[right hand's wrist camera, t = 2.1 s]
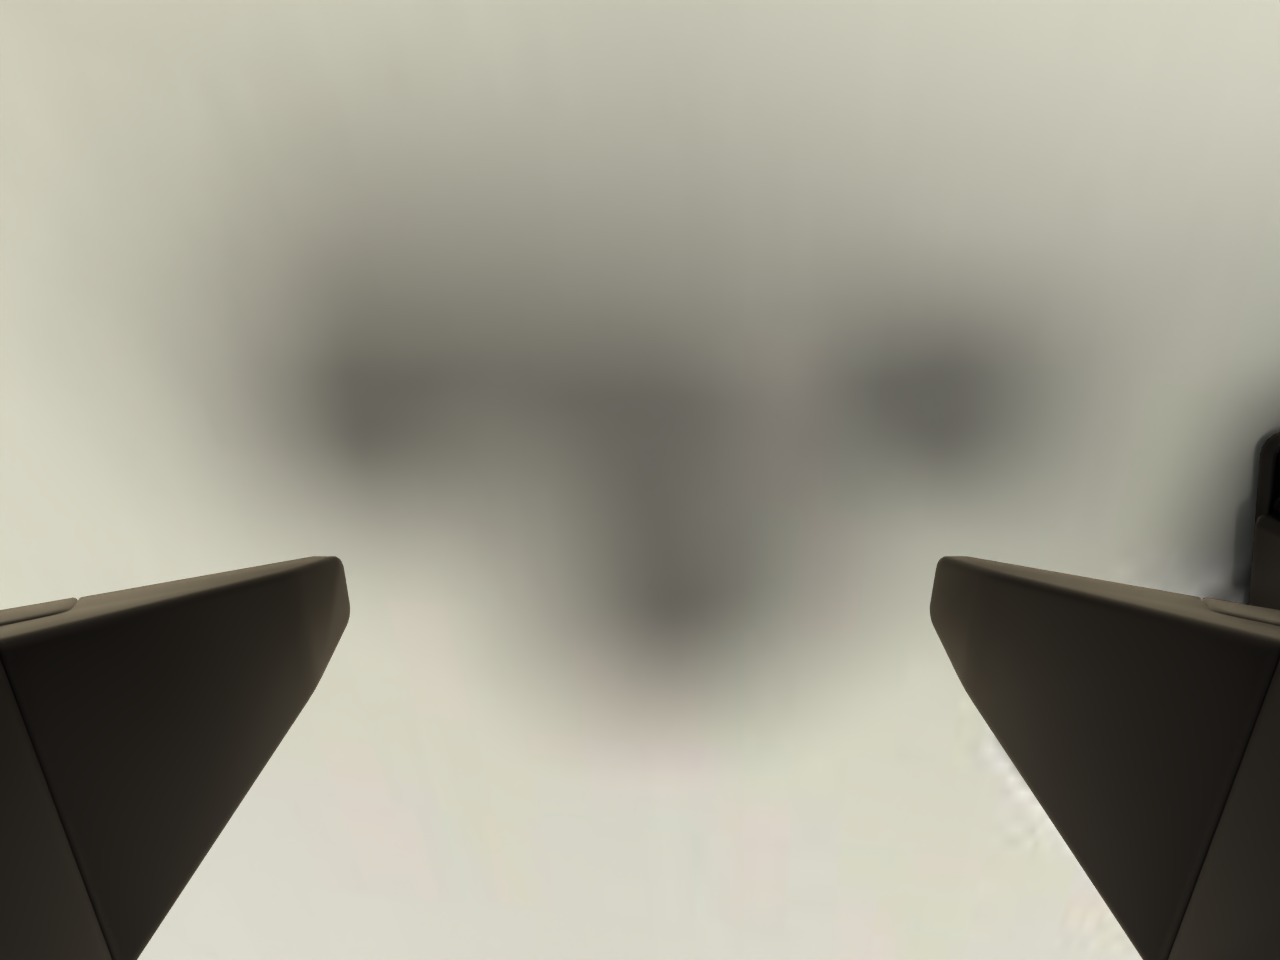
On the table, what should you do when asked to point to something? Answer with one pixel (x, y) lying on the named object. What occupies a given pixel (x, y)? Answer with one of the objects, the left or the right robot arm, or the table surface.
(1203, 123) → the table surface
